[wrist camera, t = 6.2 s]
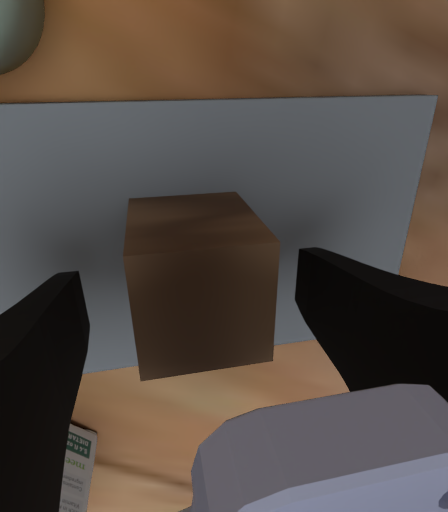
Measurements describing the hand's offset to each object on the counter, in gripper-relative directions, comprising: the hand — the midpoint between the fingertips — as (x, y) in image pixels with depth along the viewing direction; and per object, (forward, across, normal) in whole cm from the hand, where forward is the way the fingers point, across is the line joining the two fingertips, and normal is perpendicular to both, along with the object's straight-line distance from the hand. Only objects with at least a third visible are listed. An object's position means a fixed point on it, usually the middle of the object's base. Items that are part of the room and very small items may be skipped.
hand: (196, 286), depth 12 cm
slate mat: (+4, -1, 0) cm, 4 cm away
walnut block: (+3, 0, 0) cm, 3 cm away
